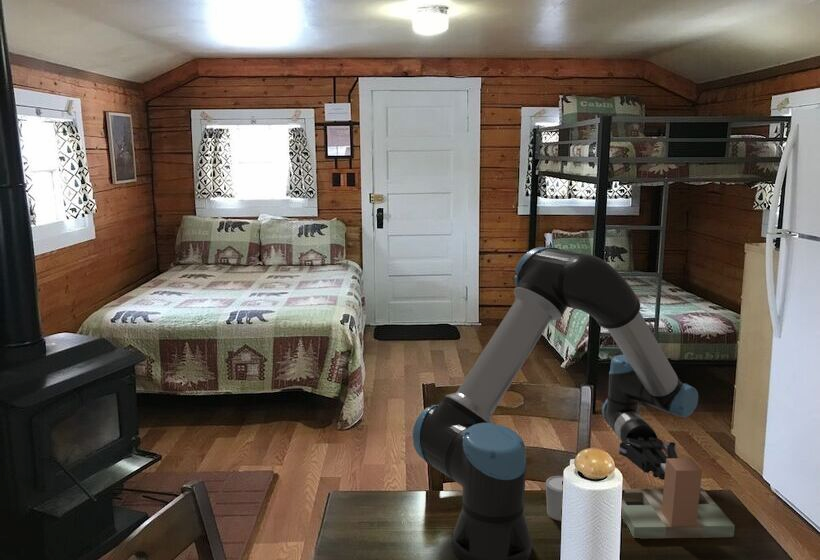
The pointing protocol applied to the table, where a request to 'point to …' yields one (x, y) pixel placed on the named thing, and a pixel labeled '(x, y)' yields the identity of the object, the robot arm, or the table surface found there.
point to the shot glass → (554, 496)
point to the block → (681, 491)
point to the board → (650, 522)
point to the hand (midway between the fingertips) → (676, 484)
